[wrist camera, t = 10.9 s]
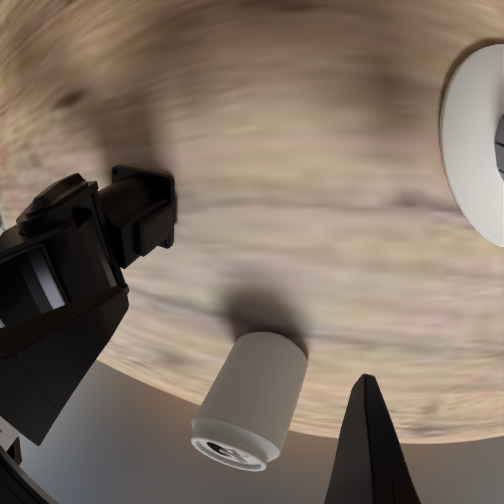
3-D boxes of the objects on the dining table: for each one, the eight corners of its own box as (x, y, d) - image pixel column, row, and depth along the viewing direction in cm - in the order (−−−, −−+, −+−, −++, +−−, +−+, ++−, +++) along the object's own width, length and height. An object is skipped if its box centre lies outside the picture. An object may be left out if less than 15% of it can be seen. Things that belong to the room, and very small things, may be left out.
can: (225, 327, 27) (164, 427, 18) (296, 322, 24) (250, 447, 14) (253, 374, 30) (210, 465, 20) (317, 374, 27) (285, 480, 17)
